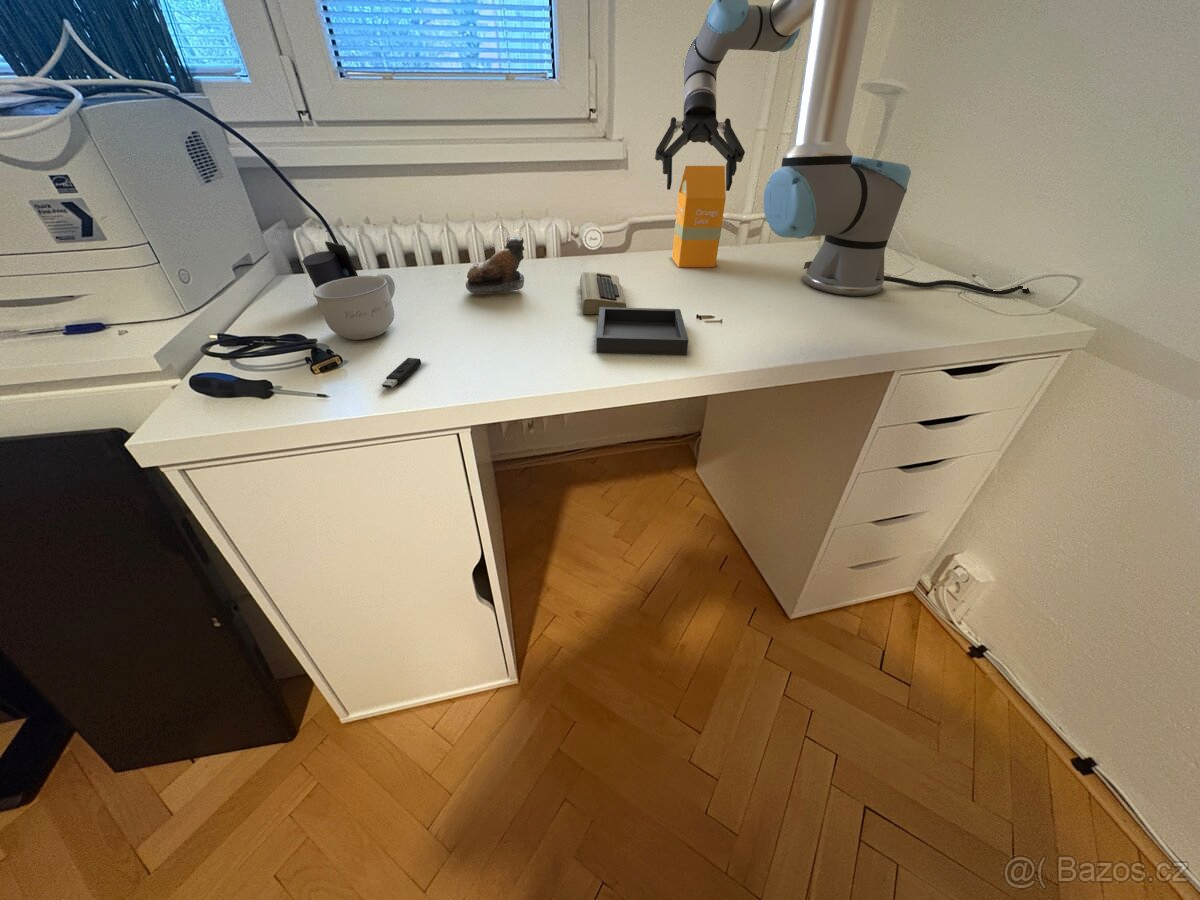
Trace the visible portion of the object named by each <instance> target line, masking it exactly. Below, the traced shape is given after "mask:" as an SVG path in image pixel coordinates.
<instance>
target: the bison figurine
mask: <svg viewBox="0 0 1200 900" xmlns="http://www.w3.org/2000/svg"><path fill="white" fill-rule="evenodd" d="M505 240H506V241H505V242H506V244H505V246H504V248H503V249H502V248H501V249H499V250H498V251H496V252H495V253H494V254H493V255H492V256H491V257H490V258H489V259H487V260H485V261H483V263H482V264H479V263H478V262H475V263H473V265H472V266H471V267H470V268H469V270H468V271H467V275H466V277H467V280H466V282H465V288H466V290H467V291H468V292H469V293H471V294H479V295H496V294H505V293H509V292H513V291H519V290H521V289H523V288H524V284H525V277H524V274H523V273H521V272H520V271H519V270H518V269H519V266H520V263H521V262H522V260H523V259H524V252H523V251H525V247H524V242H525V241H524V238H523V237H521V239H520V238H519V237H517V236H516V237H511V238H508V237H507V238H506V239H505Z"/></svg>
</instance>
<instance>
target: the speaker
mask: <svg viewBox="0 0 1200 900" xmlns="http://www.w3.org/2000/svg"><path fill="white" fill-rule="evenodd" d="M324 242H325V245H326V248H327V250H325V251H317V252H315V253H311V254H308V255H307V256H305V257H304V258H303V259H302V260H301V262H302V264H303V266H304V268H305V271H306V272H307V274H308V276H309V278H310V280H311V282H312V284H313V285H314V289H316V288H317V287H319V286H320V285H323V284H325V283H328V282H331V281H334V280H338V279H342V278H349V277H354V276H359V275H358V272H357V270H356V267H355V265H354V263H353V261H352V258H351V256H350V254H349V252H348V249H347V247H346V245H344V244H340V243H335V242H331V241H327V240H326V241H324Z"/></svg>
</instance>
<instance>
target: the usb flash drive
mask: <svg viewBox="0 0 1200 900" xmlns="http://www.w3.org/2000/svg"><path fill="white" fill-rule="evenodd" d="M421 365H422V360H421V359H420V358H415V357H407V358H406V359H405V360H404V361H402V363H400V364H399V365H398V366H397V367H396V368H395V369H394V370H393V371H391V372H390V373H389V374H388V375H387V376H386V377H385V379H386V380H384V381H383V383H381V387H382V388H387V389H393V388H394V387H395V386H396V385H401V384H402V383H403V382H404V381H405V380H406V379H407V378H409V377H410V376H411V374H413V373H414V371H416V370H417V368H419V367H420V366H421Z"/></svg>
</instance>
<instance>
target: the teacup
mask: <svg viewBox="0 0 1200 900" xmlns="http://www.w3.org/2000/svg"><path fill="white" fill-rule="evenodd" d="M395 292H396V284H395V281H394V280H393V278H392V277H391V275H389V274H388V273H379V274H377V275H358V276H354V277H349V278H342V279H338V280H334V281H331V282H328V283H325V284H323V285H320V286H319V287H317V288H314V290H312V295H313V296H314V298H315V299H316V301H317V302H316V303H317V305H318V307H319V309H320V312H321V314H322V316H323V318H324V321H325V323H326V325H327V326H328V328H329V329H330V330H331V331H332V332H333V333H335V334H337V335H339V336H342V337H343V338H344V339H345V338H346V339H347V340H352V341H353V340H354V341H357V340H358V341H359V340H361V341H362V340H368V339H372V338H376V337H378V336H381V335H382V334H384V333H386V332H387V330H388V329H389V327H390V326H391V325H392V323H393V322H394V319H395V310H394V304H393V300H392V299H393V297H394V295H395Z"/></svg>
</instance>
